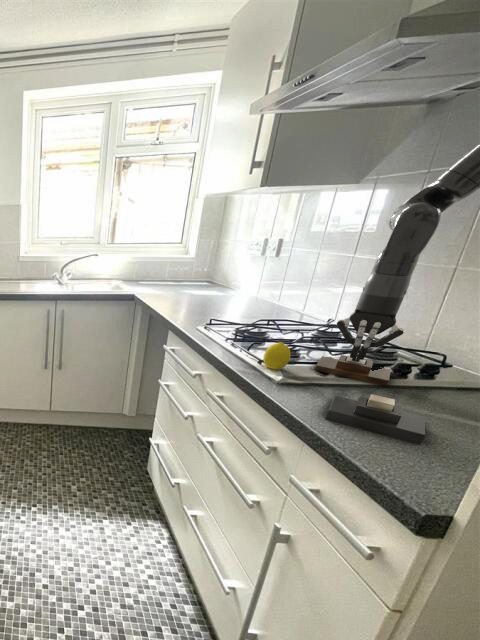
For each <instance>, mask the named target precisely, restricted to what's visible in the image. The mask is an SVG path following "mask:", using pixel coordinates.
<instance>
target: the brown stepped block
mask: <svg viewBox="0 0 480 640" xmlns="http://www.w3.org/2000/svg"><path fill="white" fill-rule="evenodd" d="M347 357H350V355H344V354H340V356H339V358H333V357H328V356H323V355H322V356H321V357H320V359H319V360H318V362H317V363H316V365H315V367H314V371H316V372H321V373H325V374H329V375H334V376H339V377H342V378H343V377H344V378H349V379H353V380H357V381H362V382H367V383H372V384H377V385H381V386H388V383H389V382H390V378H391V377H390V376H391V371H392V369H389V368H384V367H381V368H382V369H378V370H374V371H372V370H371V368H372V366H374V365H373V364H374V360H370V359H366V358H364V359H363V360H366V362H365V364H364V365H363V364H358V363H352V362H347V361H346V360H347ZM356 359H357V358H356Z"/></svg>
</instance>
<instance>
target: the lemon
mask: <svg viewBox="0 0 480 640" xmlns="http://www.w3.org/2000/svg"><path fill="white" fill-rule="evenodd" d="M290 359H291V349H290V347H289V346H288V345H286V344H285V343H284V342H282V341H280V342H276V343H273V344H271V345H269V346H268V347H267V349H266V350H265V352H264V354H263V363H264V366H265V367H267V368H268V369H271V370H281V369H283V368H285V367H286V366H287V365H288V363H289V362H290Z"/></svg>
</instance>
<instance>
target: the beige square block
mask: <svg viewBox="0 0 480 640" xmlns="http://www.w3.org/2000/svg"><path fill="white" fill-rule="evenodd" d="M366 360H367V359H366ZM366 360H359V362H358V361H356V360H355V361H353V360H352V358H350V357H347V360H346V361H347V362H352V363H358V364H363V365H364V364H365V362H366Z"/></svg>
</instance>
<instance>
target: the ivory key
mask: <svg viewBox="0 0 480 640" xmlns="http://www.w3.org/2000/svg"><path fill="white" fill-rule="evenodd" d="M368 398H369V400H368V403H367V406H370V407H374V408H378V409H382V410H386V411H390V412H392V409H393V407H394V404H396V399H394V398H389V397H385V396H381V395H377V394H372V393H371V394H370V395H369V397H368Z"/></svg>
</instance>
